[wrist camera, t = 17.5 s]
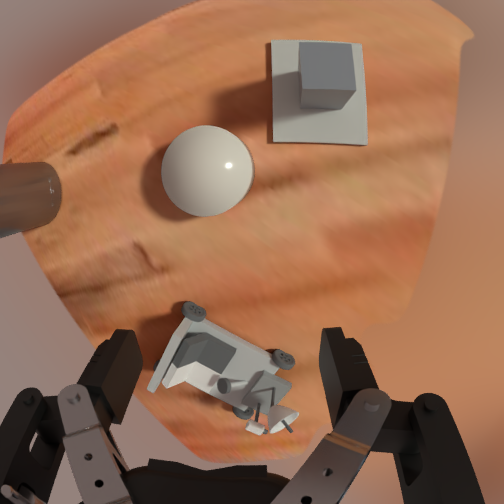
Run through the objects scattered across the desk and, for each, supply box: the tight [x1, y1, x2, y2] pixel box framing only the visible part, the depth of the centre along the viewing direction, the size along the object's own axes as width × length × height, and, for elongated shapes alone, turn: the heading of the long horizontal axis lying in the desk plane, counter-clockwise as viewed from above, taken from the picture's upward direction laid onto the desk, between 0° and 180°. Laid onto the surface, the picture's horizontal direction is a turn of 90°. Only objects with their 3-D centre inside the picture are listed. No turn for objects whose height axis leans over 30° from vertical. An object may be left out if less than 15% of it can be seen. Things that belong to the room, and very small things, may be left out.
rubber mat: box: [271, 40, 368, 145], centre depth 29 cm, size 10×12×1 cm
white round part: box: [161, 126, 255, 217], centre depth 31 cm, size 9×9×4 cm
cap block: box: [298, 42, 356, 109], centre depth 25 cm, size 4×4×8 cm
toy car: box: [147, 301, 299, 435], centre depth 35 cm, size 18×10×12 cm
